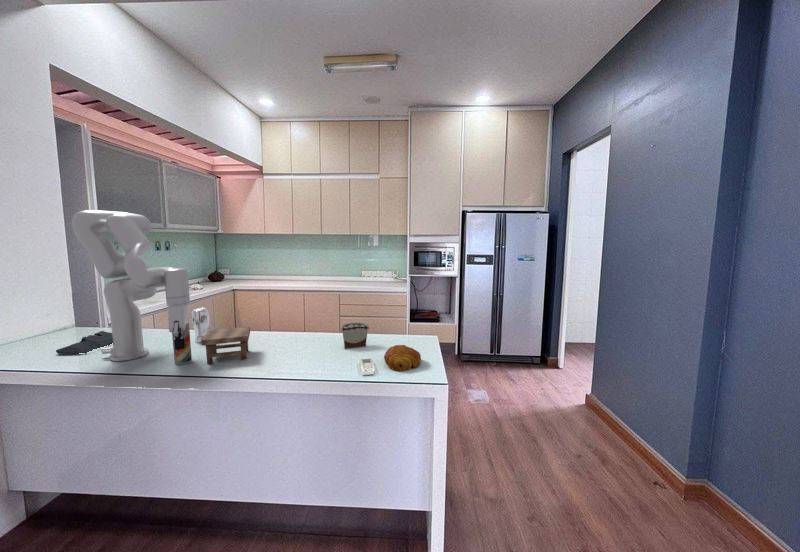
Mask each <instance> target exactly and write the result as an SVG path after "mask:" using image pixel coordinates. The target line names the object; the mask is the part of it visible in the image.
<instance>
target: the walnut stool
mask: <svg viewBox="0 0 800 552" xmlns="http://www.w3.org/2000/svg"><path fill="white" fill-rule="evenodd" d="M250 334H251V326H243V327H231V328H220V329H208V331H207V333H206V334H205V336H204V337H203V339H202V340H201V342H202V343H201V346H205V351H206V353H205V354H206V364H207V365H212V364H214V358H221V357H231V356H240V360H241V361H246V360H247V359H248V354H247V352H249V338H250V336H251V335H250ZM229 348H240V350H233V351H224V352H218V350H220V349H221V350H222V349H229Z"/></svg>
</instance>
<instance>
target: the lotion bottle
mask: <svg viewBox="0 0 800 552" xmlns="http://www.w3.org/2000/svg"><path fill="white" fill-rule="evenodd" d="M173 329H174V328H173ZM178 331H181V329H179V330H178ZM173 332H174V330H173V331H172V332H171V334H172V335H171V336H172V337H171V338H172V349H173V361H174V365H185V364H189V363H190V362H192V360H193V357H192V347H191V346H192V345H191V344H192V343H191V336H190V335H191V332H190V322H189V323H187V324H186V328H185V330H184V331H183V338H184V342H185V348H184V349H177V350H175V346H174V334H173ZM179 333H180V334H181V332H179Z"/></svg>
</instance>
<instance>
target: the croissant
mask: <svg viewBox="0 0 800 552" xmlns="http://www.w3.org/2000/svg"><path fill="white" fill-rule="evenodd" d="M421 356H422V355H421V353H420V352H419V351H418V350H416V349H414V348H413V347H410V346H407V345H405V344H398V345H393V346H390V347H389V348H388V349H387V350H386V351H385V353H384V356H383V360H384V362H385V365H386V366H387V367H388V368H389V369H391V370H394V371H398V372H400V371H407V370H410V369H411V370H412V369H417V368H418V367H419V366H420V364H421V361H422V357H421Z"/></svg>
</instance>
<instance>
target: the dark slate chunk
mask: <svg viewBox="0 0 800 552" xmlns="http://www.w3.org/2000/svg"><path fill="white" fill-rule="evenodd" d="M112 343H113V338H112V332H109V331H104V330H101V331H98V332H95V333H93V334H90V335H87V336H83V337H81V340H80V341H79V342H76V343H73V344H70V345H67V346H65V347H61V348H57V349H56V350H55V352H56V353H57V354H60V353H70V355H76V354H79V353H87V352H89V351H92V350H93V349H97V348H100V347H104V346H107V345H110V344H112ZM110 346H111V345H110Z"/></svg>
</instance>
